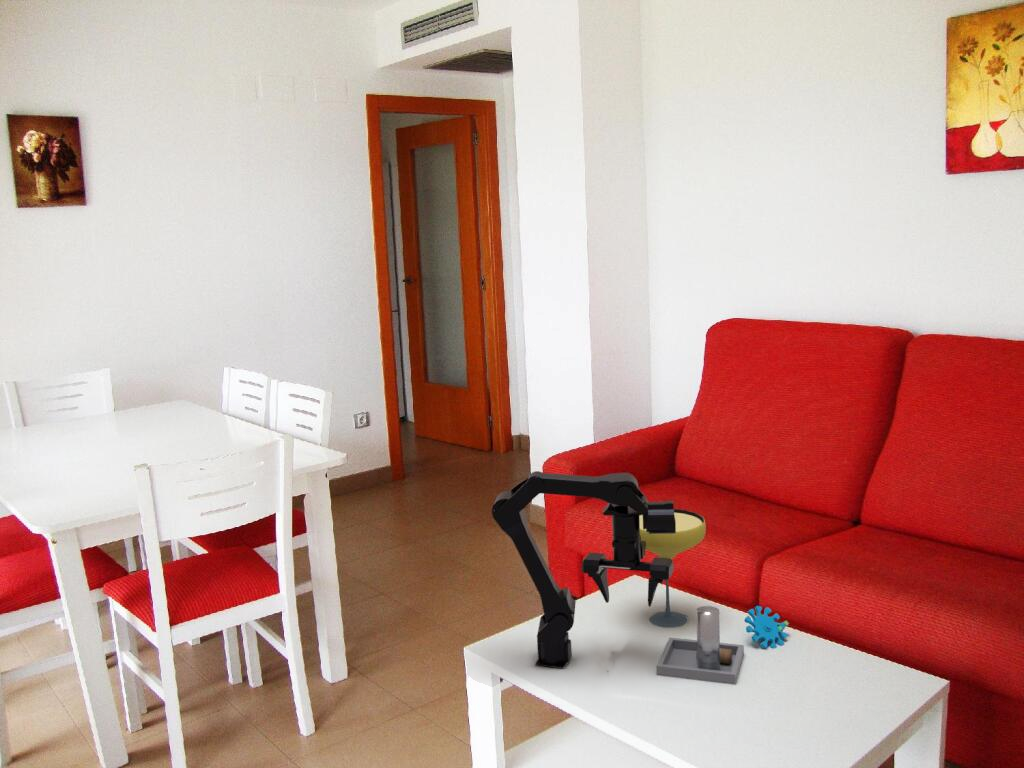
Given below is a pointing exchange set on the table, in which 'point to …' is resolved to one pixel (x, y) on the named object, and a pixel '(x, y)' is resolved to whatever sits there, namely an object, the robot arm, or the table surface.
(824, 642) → the table surface
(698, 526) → the cocktail glass
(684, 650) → the tray
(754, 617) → the gear
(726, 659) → the rod
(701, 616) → the sleeve
